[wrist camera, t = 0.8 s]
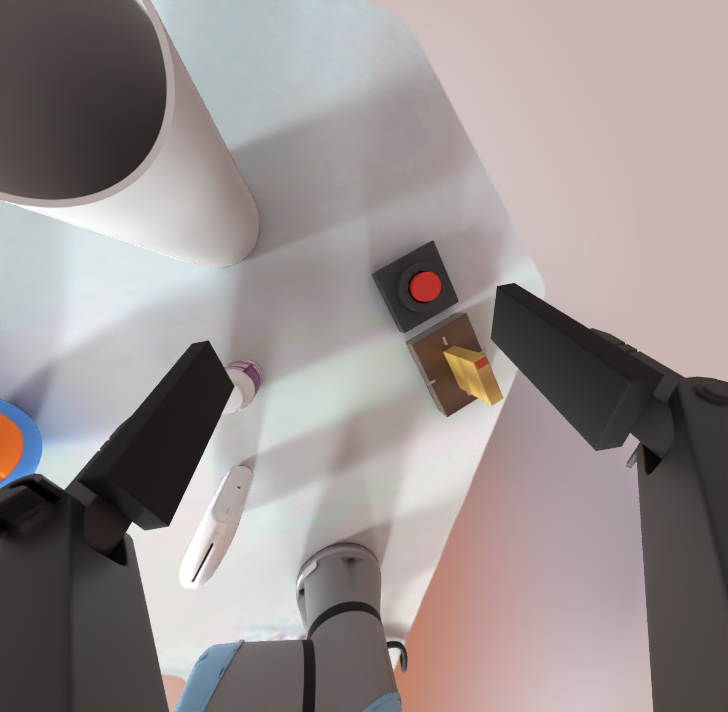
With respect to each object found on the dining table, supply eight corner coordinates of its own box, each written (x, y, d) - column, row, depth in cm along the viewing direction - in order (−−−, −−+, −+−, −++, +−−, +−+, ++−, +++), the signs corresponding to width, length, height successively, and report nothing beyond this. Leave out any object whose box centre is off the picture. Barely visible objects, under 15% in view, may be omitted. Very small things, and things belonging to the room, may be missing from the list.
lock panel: (488, 380, 49) (500, 385, 46) (436, 412, 48) (444, 419, 45) (459, 310, 45) (470, 311, 42) (401, 344, 44) (408, 347, 41)
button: (439, 293, 40) (445, 292, 38) (416, 306, 40) (421, 306, 38) (428, 267, 39) (433, 266, 37) (404, 281, 39) (409, 280, 37)
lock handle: (469, 381, 45) (504, 398, 37) (459, 388, 45) (492, 406, 37) (453, 345, 43) (486, 354, 35) (443, 351, 43) (473, 362, 35)
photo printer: (232, 460, 42) (202, 521, 30) (258, 469, 44) (240, 532, 32) (203, 515, 43) (164, 596, 31) (230, 523, 44) (202, 604, 32)
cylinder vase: (136, 181, 33) (-301, -127, 9) (236, 154, 35) (80, -171, 11) (185, 281, 37) (-49, 242, 12) (275, 252, 38) (220, 167, 14)
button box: (451, 301, 45) (465, 301, 41) (399, 331, 44) (408, 334, 40) (427, 243, 42) (439, 237, 38) (371, 274, 41) (377, 271, 37)
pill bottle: (251, 352, 40) (233, 367, 31) (270, 382, 41) (259, 405, 32) (217, 369, 39) (189, 390, 30) (237, 399, 41) (217, 428, 32)
